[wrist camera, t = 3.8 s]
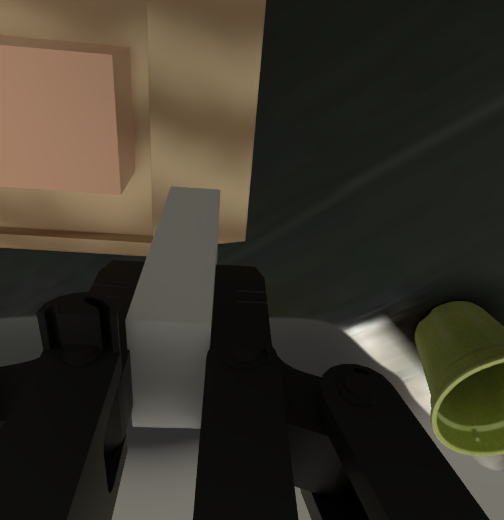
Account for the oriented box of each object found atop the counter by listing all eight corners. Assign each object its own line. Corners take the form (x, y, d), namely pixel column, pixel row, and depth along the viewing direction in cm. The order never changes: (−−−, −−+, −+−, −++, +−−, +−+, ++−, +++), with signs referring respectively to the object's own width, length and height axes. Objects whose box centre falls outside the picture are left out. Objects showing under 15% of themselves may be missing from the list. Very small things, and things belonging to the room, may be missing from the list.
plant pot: (389, 295, 36) (429, 374, 28) (511, 270, 35) (586, 344, 27) (397, 379, 40) (434, 466, 33) (505, 359, 40) (568, 443, 32)
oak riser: (-74, -92, 24) (-130, -108, 20) (282, -54, 25) (290, -63, 21) (-6, 217, 33) (-37, 245, 29) (254, 234, 34) (256, 262, 30)
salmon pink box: (-23, 33, 24) (-67, 38, 21) (129, 46, 25) (112, 54, 21) (2, 161, 28) (-32, 184, 24) (135, 170, 28) (121, 194, 25)
